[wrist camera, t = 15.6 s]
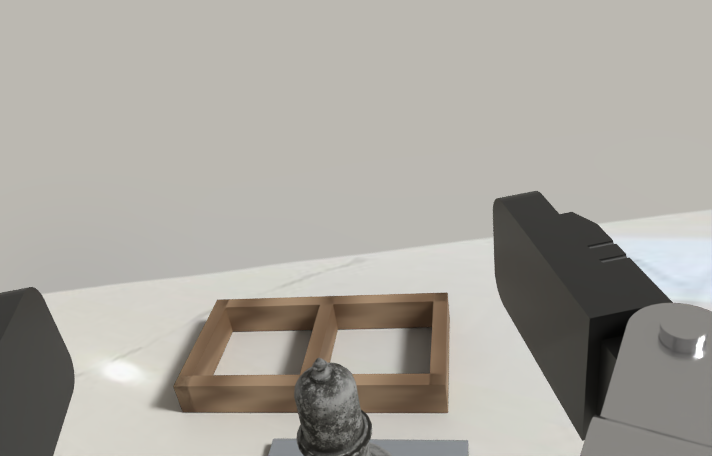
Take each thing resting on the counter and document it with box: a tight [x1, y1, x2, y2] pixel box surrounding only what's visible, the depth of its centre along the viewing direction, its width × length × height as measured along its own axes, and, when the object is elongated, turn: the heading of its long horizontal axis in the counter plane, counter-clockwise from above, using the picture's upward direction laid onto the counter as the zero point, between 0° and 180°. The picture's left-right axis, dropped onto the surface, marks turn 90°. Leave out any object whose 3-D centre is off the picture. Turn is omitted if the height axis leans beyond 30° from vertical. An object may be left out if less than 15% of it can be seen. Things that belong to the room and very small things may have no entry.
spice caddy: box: [173, 293, 450, 413], centre depth 47 cm, size 18×10×2 cm, turn 82°
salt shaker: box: [294, 358, 392, 456], centre depth 32 cm, size 6×6×12 cm
